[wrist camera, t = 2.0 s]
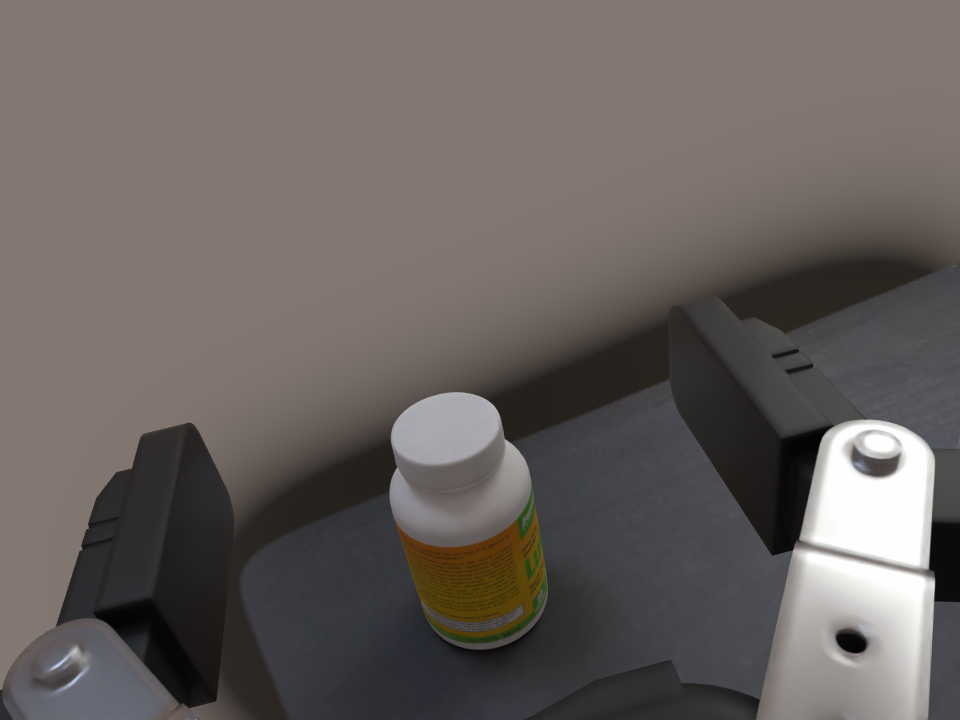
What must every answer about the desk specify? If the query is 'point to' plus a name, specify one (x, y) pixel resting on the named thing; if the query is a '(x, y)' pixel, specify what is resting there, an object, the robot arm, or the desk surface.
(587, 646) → the desk surface
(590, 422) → the desk surface
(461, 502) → the supplement bottle
